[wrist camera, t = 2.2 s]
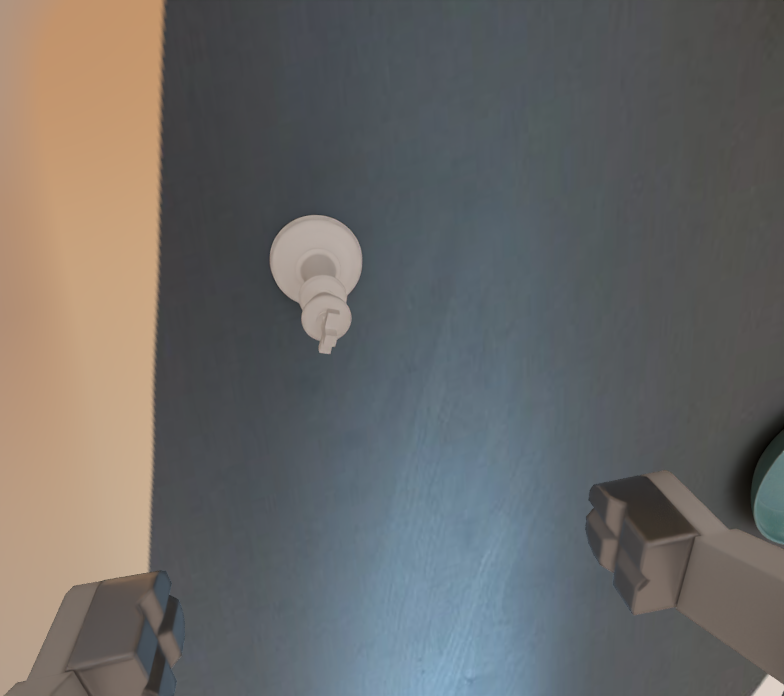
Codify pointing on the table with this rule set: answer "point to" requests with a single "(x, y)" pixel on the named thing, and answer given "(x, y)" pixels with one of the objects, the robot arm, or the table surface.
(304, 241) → the chess piece
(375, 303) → the table surface
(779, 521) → the saucer
